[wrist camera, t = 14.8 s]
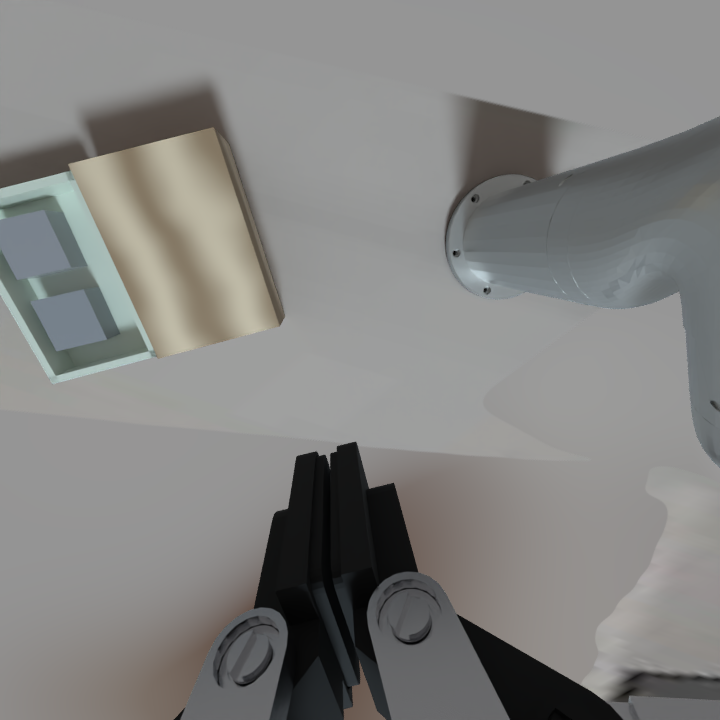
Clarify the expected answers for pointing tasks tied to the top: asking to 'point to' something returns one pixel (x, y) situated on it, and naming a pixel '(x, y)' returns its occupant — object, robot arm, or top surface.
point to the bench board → (182, 240)
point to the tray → (70, 284)
